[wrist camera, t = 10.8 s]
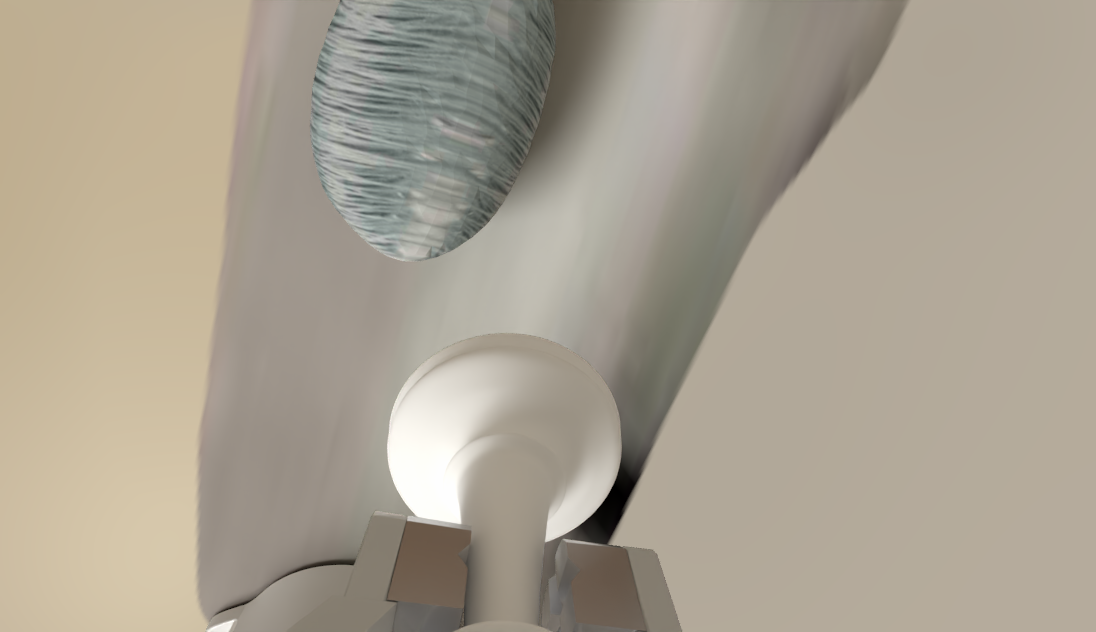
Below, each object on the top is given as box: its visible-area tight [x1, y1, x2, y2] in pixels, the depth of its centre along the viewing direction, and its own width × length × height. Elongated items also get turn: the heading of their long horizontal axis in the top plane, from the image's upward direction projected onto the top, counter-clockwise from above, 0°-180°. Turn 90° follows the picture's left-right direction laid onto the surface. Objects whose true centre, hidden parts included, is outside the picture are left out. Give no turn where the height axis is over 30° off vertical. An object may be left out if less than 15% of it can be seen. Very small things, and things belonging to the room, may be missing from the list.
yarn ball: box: [310, 0, 556, 261], centre depth 24 cm, size 14×10×10 cm
